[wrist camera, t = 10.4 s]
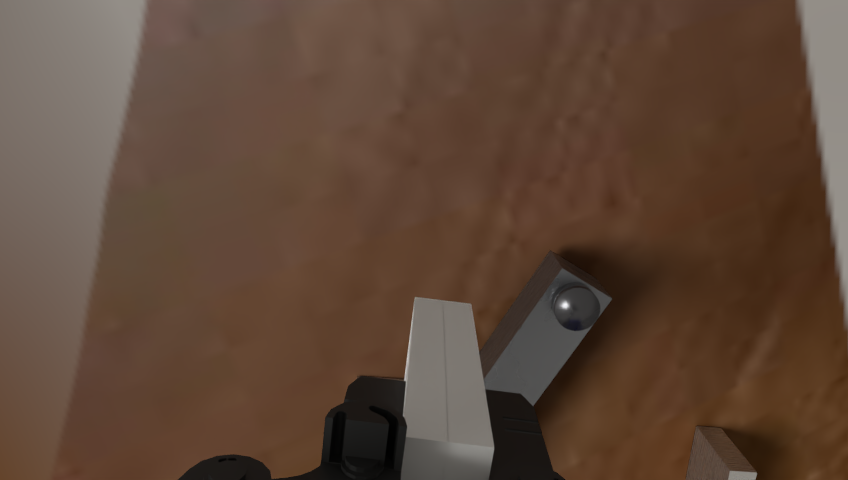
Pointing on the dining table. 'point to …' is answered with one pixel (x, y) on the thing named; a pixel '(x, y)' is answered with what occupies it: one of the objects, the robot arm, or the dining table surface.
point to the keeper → (717, 457)
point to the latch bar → (542, 328)
